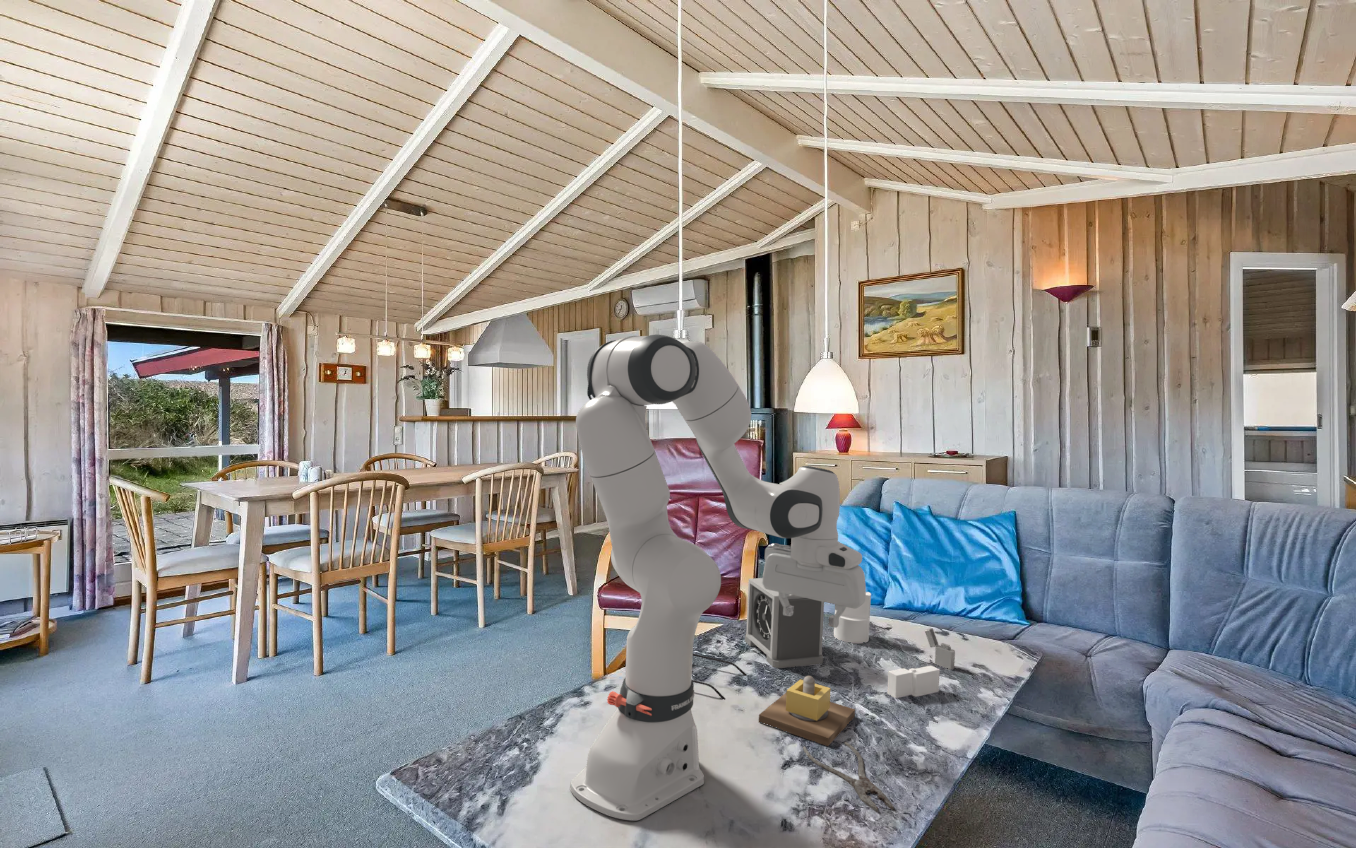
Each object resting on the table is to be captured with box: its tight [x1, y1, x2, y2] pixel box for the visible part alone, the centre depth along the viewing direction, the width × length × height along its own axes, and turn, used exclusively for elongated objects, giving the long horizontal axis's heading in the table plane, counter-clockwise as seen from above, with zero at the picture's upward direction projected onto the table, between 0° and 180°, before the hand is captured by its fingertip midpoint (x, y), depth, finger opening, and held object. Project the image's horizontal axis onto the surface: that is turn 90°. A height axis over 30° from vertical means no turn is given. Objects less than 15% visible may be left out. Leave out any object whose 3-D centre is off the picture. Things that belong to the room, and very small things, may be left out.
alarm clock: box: [744, 577, 825, 669], centre depth 162 cm, size 18×13×18 cm
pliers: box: [802, 741, 894, 813], centre depth 110 cm, size 10×1×20 cm
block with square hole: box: [786, 678, 831, 721], centre depth 128 cm, size 6×6×4 cm
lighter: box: [924, 627, 956, 670], centre depth 158 cm, size 7×2×8 cm, turn 42°
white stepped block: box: [886, 665, 941, 699], centre depth 142 cm, size 15×11×6 cm
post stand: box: [758, 675, 856, 747], centre depth 128 cm, size 14×14×9 cm
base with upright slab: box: [833, 591, 872, 644], centre depth 174 cm, size 9×9×12 cm
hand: (810, 620), depth 128 cm, fingers open, 8 cm apart
